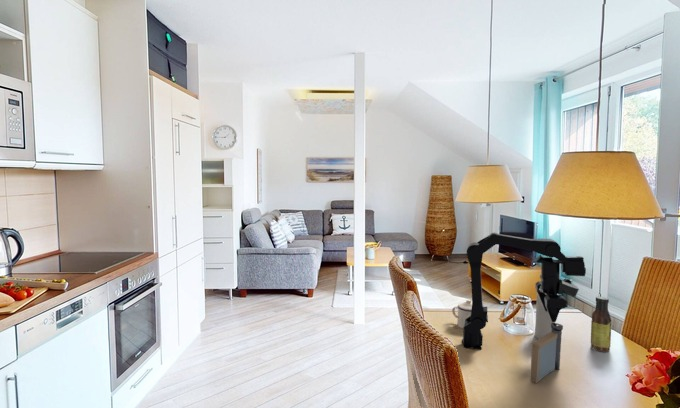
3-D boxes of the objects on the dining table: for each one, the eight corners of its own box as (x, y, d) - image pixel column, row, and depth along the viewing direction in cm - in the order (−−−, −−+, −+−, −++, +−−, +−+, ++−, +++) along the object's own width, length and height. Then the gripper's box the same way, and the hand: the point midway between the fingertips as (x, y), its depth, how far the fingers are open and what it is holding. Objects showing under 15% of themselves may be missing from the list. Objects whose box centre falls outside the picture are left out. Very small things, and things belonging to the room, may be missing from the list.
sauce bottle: (613, 353, 138) (616, 301, 136) (594, 351, 139) (598, 300, 138) (604, 346, 144) (607, 296, 143) (586, 344, 145) (589, 294, 144)
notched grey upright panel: (565, 334, 154) (568, 287, 153) (549, 342, 146) (551, 293, 145) (548, 328, 160) (550, 283, 159) (531, 336, 152) (533, 288, 151)
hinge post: (550, 369, 125) (552, 326, 124) (546, 364, 129) (549, 322, 128) (562, 370, 125) (564, 327, 124) (558, 365, 128) (560, 323, 127)
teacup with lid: (482, 326, 161) (483, 300, 161) (472, 332, 155) (473, 305, 154) (457, 318, 170) (458, 294, 169) (446, 324, 164) (447, 298, 163)
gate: (549, 366, 126) (551, 331, 125) (555, 369, 125) (557, 333, 124) (530, 380, 117) (532, 342, 117) (536, 383, 116) (538, 344, 115)
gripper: (585, 283, 121) (584, 329, 123) (567, 267, 139) (567, 307, 140) (547, 282, 124) (547, 327, 126) (534, 266, 142) (535, 306, 143)
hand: (550, 316), depth 134 cm, fingers open, 9 cm apart
